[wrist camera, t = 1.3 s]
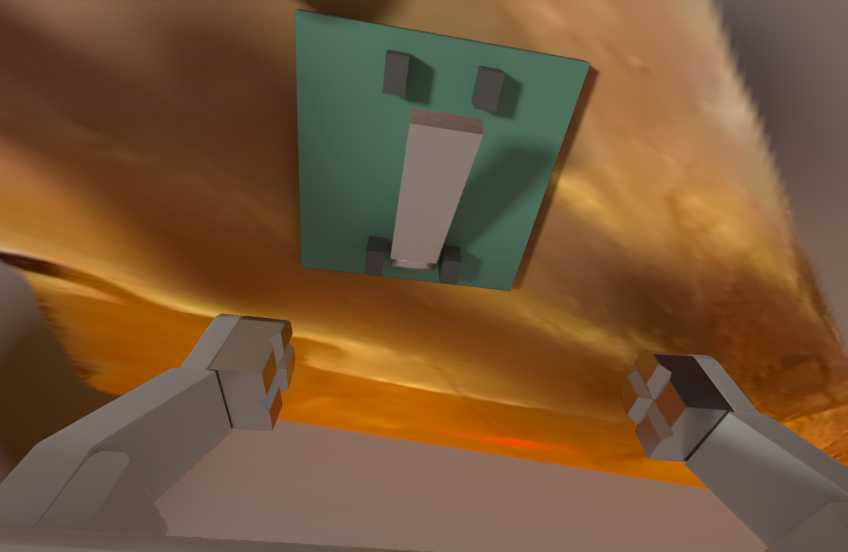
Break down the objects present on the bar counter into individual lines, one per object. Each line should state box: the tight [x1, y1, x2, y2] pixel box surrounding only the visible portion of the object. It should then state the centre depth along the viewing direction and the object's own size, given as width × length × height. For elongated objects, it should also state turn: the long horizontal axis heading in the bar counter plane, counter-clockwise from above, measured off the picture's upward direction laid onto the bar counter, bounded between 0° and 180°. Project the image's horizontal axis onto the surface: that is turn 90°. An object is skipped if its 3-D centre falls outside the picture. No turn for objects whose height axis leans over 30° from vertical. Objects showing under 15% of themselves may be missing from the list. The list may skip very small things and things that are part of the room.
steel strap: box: [389, 108, 483, 271], centre depth 29 cm, size 4×16×2 cm, turn 171°
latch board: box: [295, 9, 590, 291], centre depth 32 cm, size 20×20×4 cm
